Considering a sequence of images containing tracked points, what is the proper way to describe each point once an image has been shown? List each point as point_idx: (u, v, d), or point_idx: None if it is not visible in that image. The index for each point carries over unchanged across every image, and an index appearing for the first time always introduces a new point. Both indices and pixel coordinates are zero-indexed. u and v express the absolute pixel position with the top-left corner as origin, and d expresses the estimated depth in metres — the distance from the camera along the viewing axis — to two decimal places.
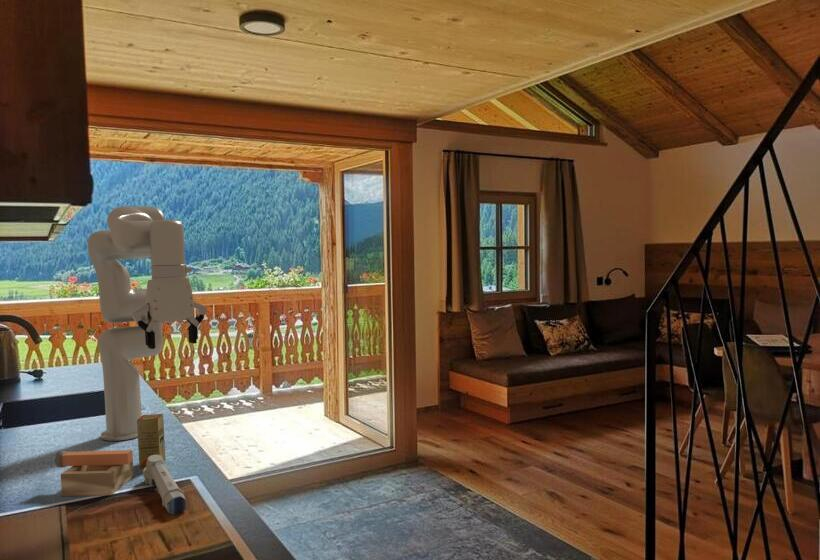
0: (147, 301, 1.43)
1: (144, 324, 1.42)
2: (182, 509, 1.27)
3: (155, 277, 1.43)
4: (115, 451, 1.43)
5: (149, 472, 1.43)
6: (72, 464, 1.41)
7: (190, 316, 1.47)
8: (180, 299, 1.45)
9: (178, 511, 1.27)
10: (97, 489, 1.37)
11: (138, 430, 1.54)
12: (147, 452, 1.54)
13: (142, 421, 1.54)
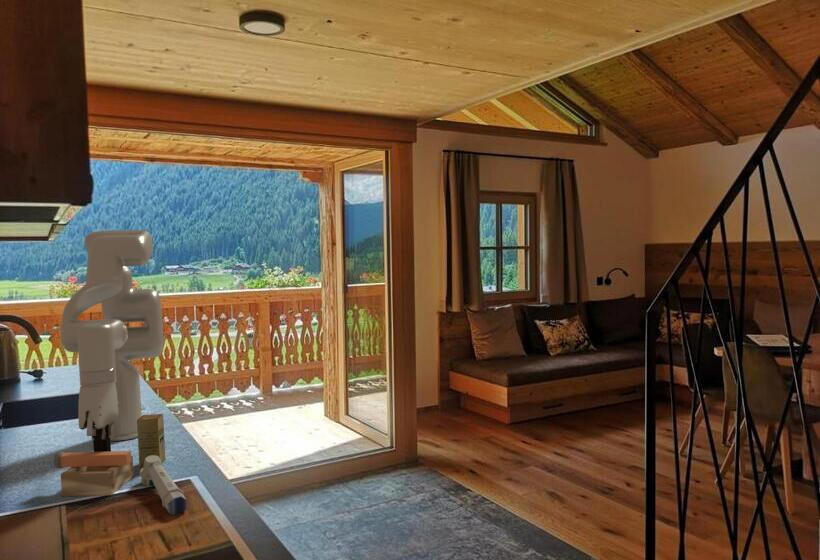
0: (87, 409, 1.39)
1: (100, 433, 1.43)
2: (183, 509, 1.27)
3: (95, 383, 1.40)
4: (114, 452, 1.42)
5: (146, 473, 1.42)
6: (70, 465, 1.41)
7: (117, 416, 1.48)
8: (113, 401, 1.46)
9: (179, 511, 1.27)
10: (97, 489, 1.37)
11: (138, 430, 1.54)
12: (147, 452, 1.54)
13: (142, 421, 1.54)
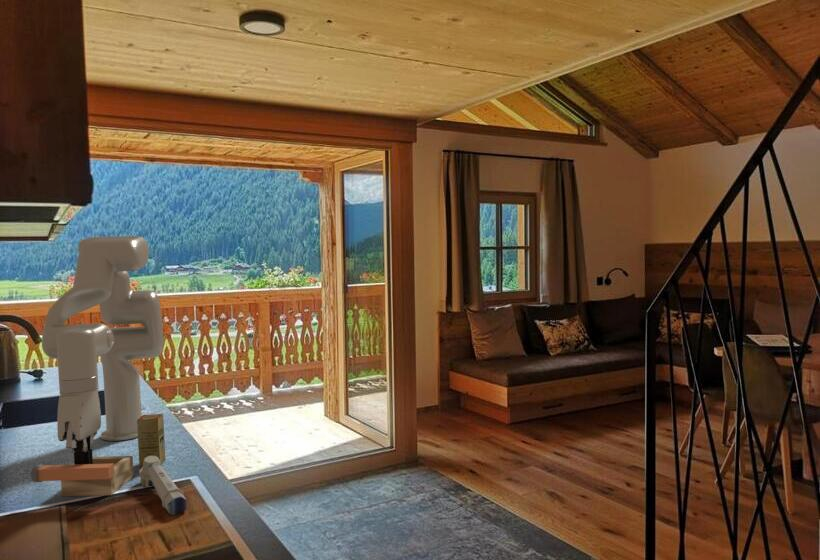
0: (67, 420, 1.31)
1: (81, 445, 1.34)
2: (183, 509, 1.27)
3: (76, 392, 1.32)
4: (95, 465, 1.34)
5: (146, 473, 1.42)
6: (49, 479, 1.32)
7: (99, 427, 1.40)
8: (95, 411, 1.37)
9: (179, 512, 1.26)
10: (97, 489, 1.37)
11: (138, 430, 1.54)
12: (147, 452, 1.54)
13: (142, 421, 1.54)
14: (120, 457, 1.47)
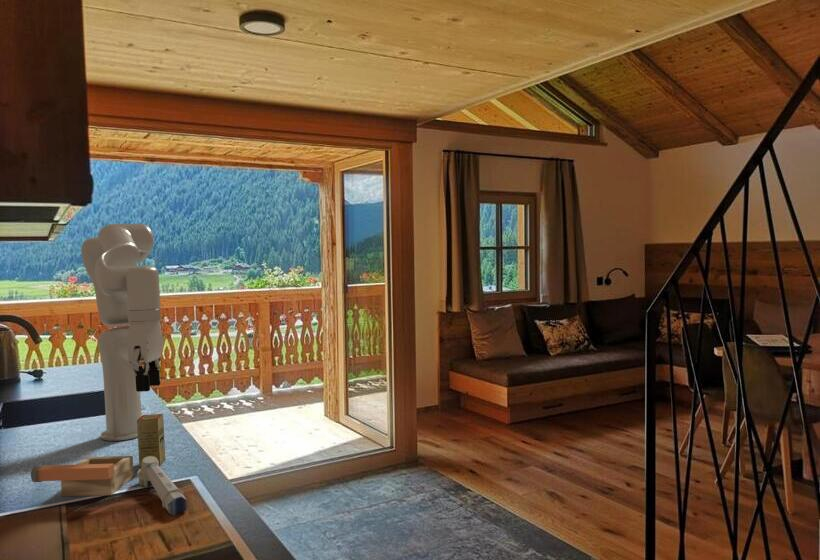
0: (136, 344, 1.50)
1: (142, 369, 1.51)
2: (183, 509, 1.27)
3: (143, 321, 1.51)
4: (95, 465, 1.34)
5: (144, 474, 1.42)
6: (49, 479, 1.32)
7: None
8: (158, 339, 1.57)
9: (179, 512, 1.26)
10: (97, 489, 1.37)
11: (138, 430, 1.54)
12: (147, 452, 1.54)
13: (142, 421, 1.54)
14: (120, 457, 1.47)
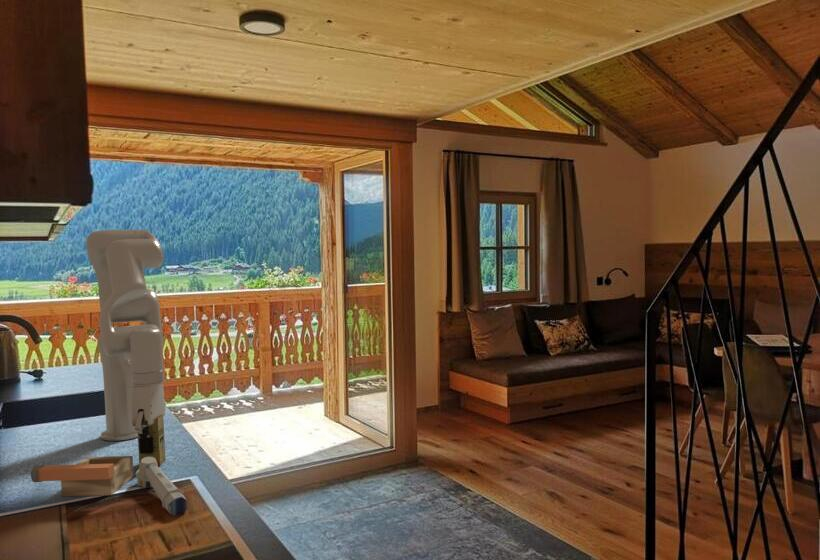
0: (139, 407, 1.51)
1: (146, 431, 1.52)
2: (183, 509, 1.27)
3: (147, 383, 1.52)
4: (95, 465, 1.34)
5: (143, 474, 1.41)
6: (49, 479, 1.32)
7: (164, 414, 1.60)
8: (161, 400, 1.58)
9: (180, 512, 1.26)
10: (97, 489, 1.37)
11: None
12: None
13: None
14: (120, 457, 1.47)
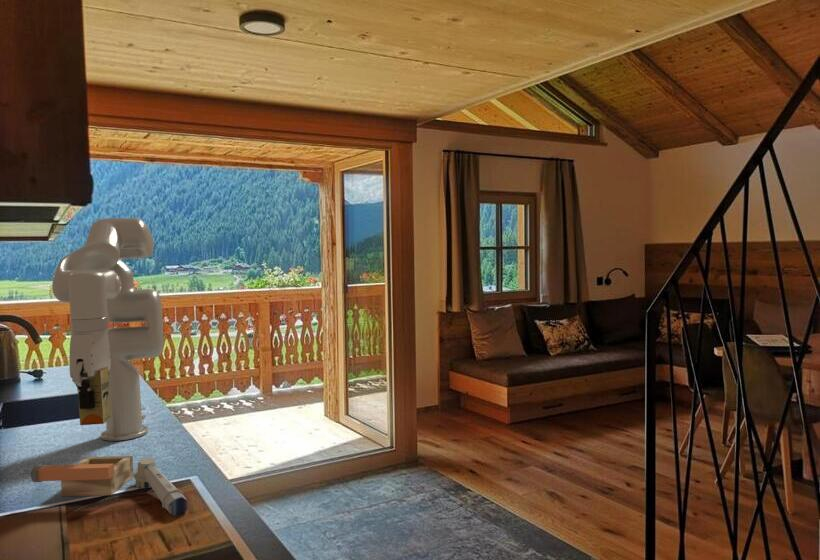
0: (78, 357, 1.36)
1: (86, 384, 1.37)
2: (184, 510, 1.27)
3: (87, 331, 1.38)
4: (95, 465, 1.34)
5: (141, 475, 1.41)
6: (49, 479, 1.32)
7: (109, 368, 1.45)
8: (105, 351, 1.43)
9: (180, 512, 1.26)
10: (97, 489, 1.37)
11: None
12: None
13: None
14: (120, 457, 1.47)
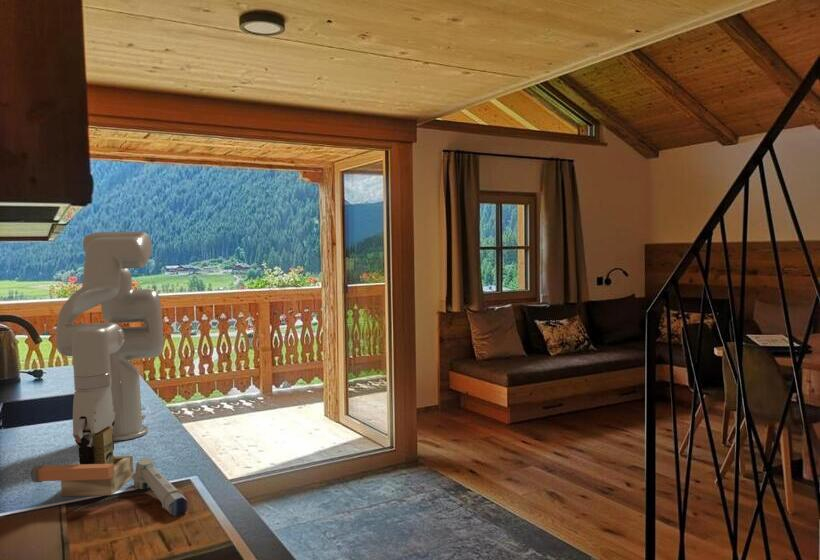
0: (82, 415, 1.37)
1: (86, 440, 1.36)
2: (184, 510, 1.27)
3: (90, 388, 1.38)
4: (95, 465, 1.34)
5: (140, 476, 1.40)
6: (49, 479, 1.32)
7: (112, 422, 1.46)
8: (108, 406, 1.43)
9: (180, 512, 1.26)
10: (97, 489, 1.37)
11: None
12: None
13: None
14: (120, 457, 1.47)
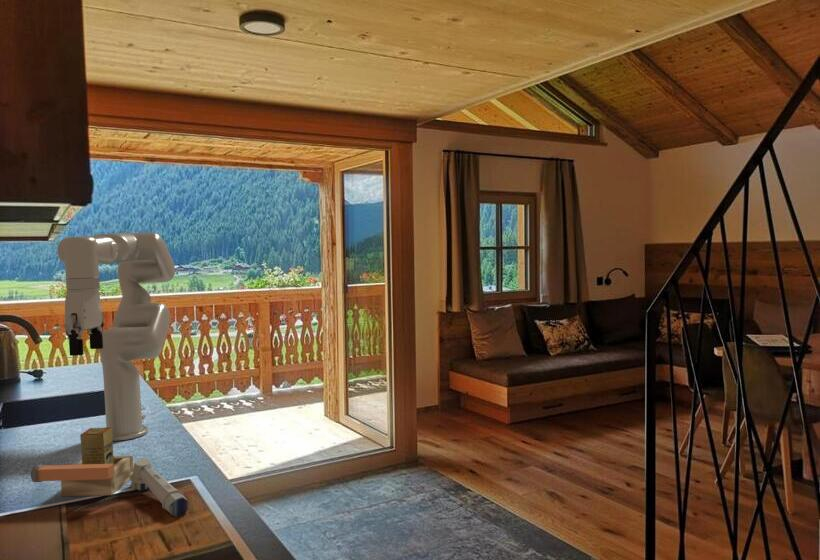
0: (73, 312, 1.54)
1: (75, 333, 1.53)
2: (184, 510, 1.26)
3: (80, 289, 1.55)
4: (95, 465, 1.34)
5: (137, 477, 1.40)
6: (49, 479, 1.32)
7: (100, 323, 1.63)
8: (97, 308, 1.60)
9: (181, 512, 1.26)
10: (97, 489, 1.37)
11: (82, 445, 1.40)
12: None
13: (86, 435, 1.40)
14: (120, 457, 1.47)
